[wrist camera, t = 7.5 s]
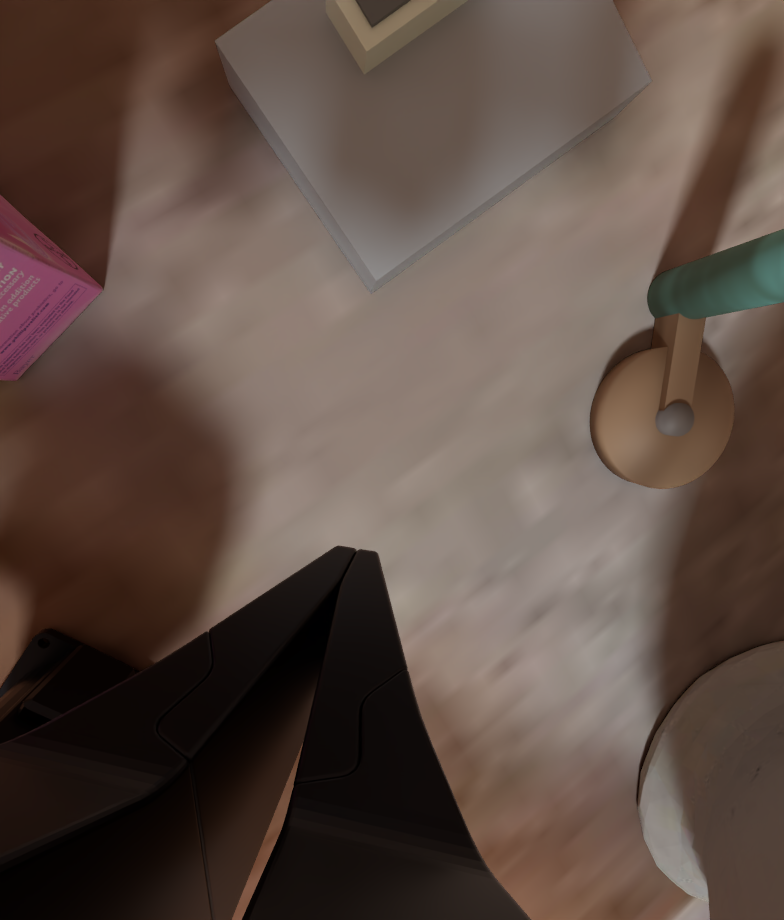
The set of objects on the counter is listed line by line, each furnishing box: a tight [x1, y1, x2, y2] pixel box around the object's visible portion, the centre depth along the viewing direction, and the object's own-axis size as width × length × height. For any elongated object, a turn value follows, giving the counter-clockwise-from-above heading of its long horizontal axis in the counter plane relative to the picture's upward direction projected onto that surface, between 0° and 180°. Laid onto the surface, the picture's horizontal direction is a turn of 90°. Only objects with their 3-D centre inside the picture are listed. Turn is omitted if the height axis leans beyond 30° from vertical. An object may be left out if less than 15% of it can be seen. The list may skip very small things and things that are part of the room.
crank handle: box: [590, 229, 784, 489], centre depth 18 cm, size 7×11×12 cm, turn 161°
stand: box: [215, 0, 652, 294], centre depth 18 cm, size 14×10×5 cm
